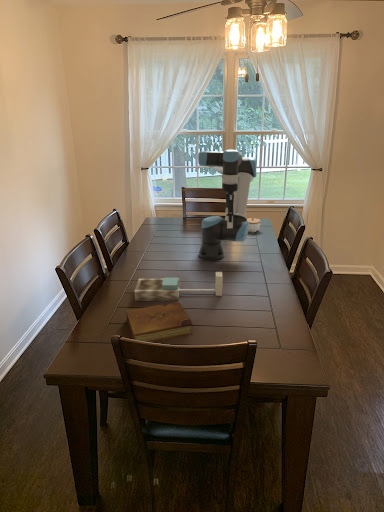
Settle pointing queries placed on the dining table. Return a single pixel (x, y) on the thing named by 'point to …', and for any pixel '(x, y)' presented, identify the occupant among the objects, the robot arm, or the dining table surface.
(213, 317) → the dining table surface
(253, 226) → the lidded jar
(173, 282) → the block sled
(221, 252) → the robot arm
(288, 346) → the dining table surface
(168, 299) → the lane
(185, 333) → the diary
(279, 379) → the dining table surface
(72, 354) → the dining table surface
